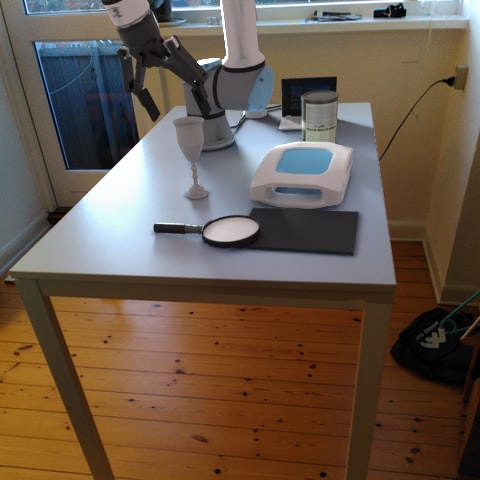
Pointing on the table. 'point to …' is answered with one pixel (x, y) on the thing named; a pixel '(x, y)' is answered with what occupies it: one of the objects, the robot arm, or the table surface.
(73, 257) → the table surface
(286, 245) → the mat
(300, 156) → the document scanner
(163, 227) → the magnifying glass
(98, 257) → the table surface
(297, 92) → the laptop
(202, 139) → the chalice
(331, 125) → the coffee can
